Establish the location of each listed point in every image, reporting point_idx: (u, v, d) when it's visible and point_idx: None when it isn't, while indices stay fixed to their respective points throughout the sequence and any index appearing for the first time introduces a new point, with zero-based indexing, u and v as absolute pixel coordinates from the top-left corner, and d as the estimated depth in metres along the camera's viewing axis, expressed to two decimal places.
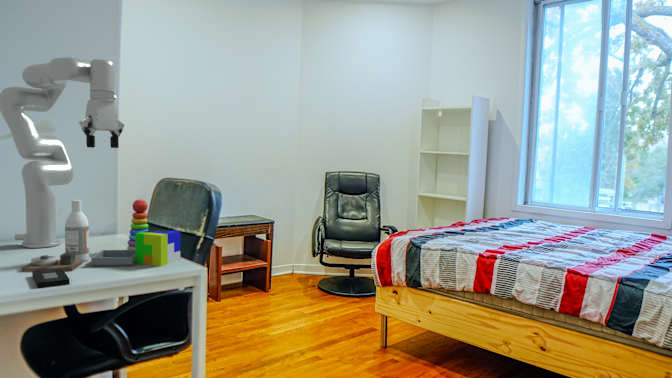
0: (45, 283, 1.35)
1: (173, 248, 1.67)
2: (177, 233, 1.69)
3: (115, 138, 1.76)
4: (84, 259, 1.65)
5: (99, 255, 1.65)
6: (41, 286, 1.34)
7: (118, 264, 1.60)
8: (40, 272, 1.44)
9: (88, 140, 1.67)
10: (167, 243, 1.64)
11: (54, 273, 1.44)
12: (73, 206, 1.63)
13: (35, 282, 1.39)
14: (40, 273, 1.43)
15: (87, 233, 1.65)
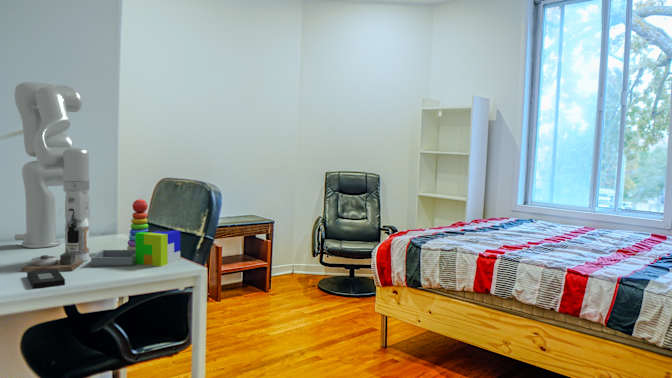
0: (40, 284, 1.34)
1: (173, 248, 1.67)
2: (177, 233, 1.69)
3: None
4: (84, 259, 1.65)
5: (99, 255, 1.65)
6: (36, 287, 1.34)
7: (118, 264, 1.60)
8: (35, 273, 1.43)
9: None
10: (167, 243, 1.64)
11: (49, 273, 1.43)
12: None
13: (30, 283, 1.38)
14: (35, 274, 1.42)
15: (87, 233, 1.65)
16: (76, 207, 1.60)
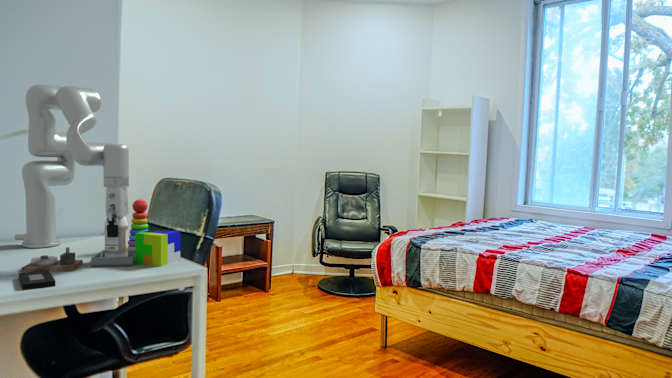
0: (30, 285, 1.33)
1: (173, 248, 1.67)
2: (177, 233, 1.69)
3: None
4: None
5: (99, 255, 1.65)
6: (26, 288, 1.32)
7: (118, 264, 1.60)
8: (26, 274, 1.42)
9: None
10: (167, 243, 1.64)
11: (40, 275, 1.42)
12: None
13: None
14: (26, 275, 1.41)
15: (126, 232, 1.65)
16: (117, 203, 1.59)
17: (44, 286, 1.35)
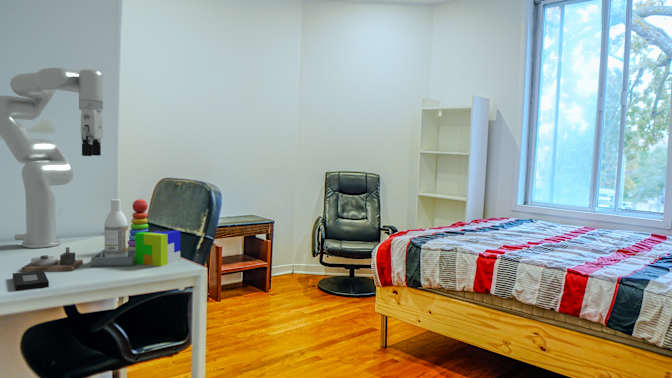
0: (23, 286, 1.32)
1: (173, 248, 1.67)
2: (177, 233, 1.69)
3: None
4: None
5: (99, 255, 1.65)
6: (19, 289, 1.31)
7: (118, 264, 1.60)
8: (20, 274, 1.41)
9: None
10: (167, 243, 1.64)
11: (34, 275, 1.41)
12: (113, 205, 1.63)
13: (14, 284, 1.36)
14: (20, 275, 1.40)
15: (126, 232, 1.65)
16: (91, 123, 1.71)
17: (37, 287, 1.34)
